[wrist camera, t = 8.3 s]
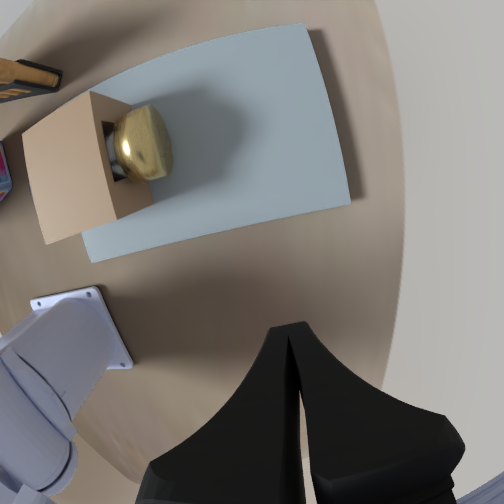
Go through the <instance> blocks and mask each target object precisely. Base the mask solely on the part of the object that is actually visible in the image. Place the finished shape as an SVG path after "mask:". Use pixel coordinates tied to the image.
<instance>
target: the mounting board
mask: <svg viewBox="0 0 504 504" xmlns="http://www.w3.org/2000/svg"><path fill="white" fill-rule="evenodd" d="M146 105H152V106H153V107H155V108H156V110H157V111H158V112H159V114H160V115H161V117H162V119H163V121H164V123H165V125H166V128H167V131H168V134H169V137H170V141H171V146H172V152H173V168H172V172H171V173H170V174H169V175H167V176H164V177H161V178H158V179H155V180H152V181H149V182H146V183H143V184H136V183H134V182H133V181H131V180H130V179H129V178H128V177H127V178H125V179H122V180H119V181H117V182H114V180H113V175H112V171H111V167H110V163H109V158H108V154H107V149H106V144H105V139H104V134H107V133H109V132H111V131H113V128H114V124H115V121H116V119H117V118H118V117H119V116H121V115H124V114H126V113H128V112H131V111H133V110H136V109H138V108H140V107H143V106H146ZM22 139H23V147H24V154H25V160H26V166H27V172H28V177H29V182H30V187H31V191H32V196H33V200H34V204H35V208H36V212H37V216H38V220H39V223H40V227H41V230H42V233H43V237H44V240H45V243H46V245H48V244H50V243H53V242H56V241H58V240H61V239H64V238H66V237H69V236H72V235H75V234H78V233H80V232H81V233H82V237H83V240H84V243H85V246H86V249H87V252H88V255H89V258H90V260H91V263H95V262H99V261H102V260H106V259H110V258H114V257H118V256H122V255H126V254H129V253H133V252H137V251H141V250H145V249H149V248H153V247H157V246H162V245H166V244H170V243H174V242H178V241H182V240H186V239H191V238H195V237H199V236H203V235H208V234H212V233H216V232H221V231H225V230H230V229H234V228H238V227H243V226H247V225H252V224H256V223H261V222H266V221H270V220H275V219H280V218H284V217H289V216H294V215H299V214H303V213H308V212H313V211H318V210H323V209H328V208H333V207H338V206H343V205H348V204H351V200H350V194H349V188H348V183H347V177H346V172H345V167H344V162H343V157H342V152H341V148H340V143H339V138H338V134H337V130H336V126H335V122H334V117H333V114H332V110H331V106H330V102H329V98H328V95H327V91H326V88H325V84H324V81H323V77H322V74H321V71H320V67H319V64H318V61H317V58H316V55H315V52H314V49H313V46H312V43H311V40H310V37H309V34H308V32H307V29H306V26H305V23H300V24H291V25H283V26H276V27H269V28H263V29H257V30H252V31H247V32H242V33H237V34H233V35H229V36H225V37H221V38H217V39H213V40H209V41H206V42H202V43H199V44H195V45H192V46H189V47H186V48H183V49H180V50H177V51H174V52H171V53H168V54H165V55H163V56H160V57H157V58H155V59H152V60H150V61H147V62H145V63H142V64H140V65H138V66H135V67H133V68H131V69H128V70H126V71H124V72H122V73H120V74H118V75H116V76H113V77H111V78H109V79H107V80H105V81H103V82H101V83H100V84H98V85H96V86H94V87H92V88H90V89H88V90H86V91H85V92H83V93H81V94H79V95H78V96H76V97H74V98H73V99H71V100H69V101H68V102H66V103H64V104H63V105H61V106H60V107H58V108H56V109H55V111H54V112H52V113H51V114H49V115H48V116H46V117H45V118H43V119H42V120H41V121H39V122H38V123H36V124H35V125H33V126H32V127H31V128H29V129H28V130H27V131H25V132H24V133H23V134H22Z"/></svg>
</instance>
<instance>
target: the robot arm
mask: <svg viewBox="0 0 504 504" xmlns="http://www.w3.org/2000/svg"><path fill="white" fill-rule="evenodd" d="M89 292H90V293H91V295H90V294H89ZM31 306H32V308H33V310H34V311H33V312H31V313H30V314H29V315H28V316H26V317H25V318H24V319H23V320H21V321H20V322H19V323H18V324H17V325H15V326H14V327H13V328H12V329H11V330H9V331H8V332H7V333H6V334H5V335H4V336H2V337H1V338H0V504H56V503H55V502H54V501H52V500H51V499H50V498H48V497H50V496H53V495H56V494H58V493H59V492H61V491H62V490H63V489H65V488H66V486H68V484H69V483H70V482H71V480H72V478H73V477H74V474H75V471H76V469H77V462H78V451H77V447H76V445H75V443H74V442H73V441H72V439H73V437H74V435H75V433H76V432H77V429H76V428H75V427H74V426H73V425H72V423H71V422H72V421H73V419H74V418H75V416H76V414H77V413H78V411H79V410H80V408H81V407H82V405H83V403H84V402H85V400H86V399H87V397H88V396H89V394H90V393H91V391H92V390H93V388H94V387H95V385H96V384H97V382H98V381H99V379H100V378H101V376H102V375H103V373H104V372H105V370H106V369H131V368H132V367H133V365H134V363H133V361H132V359H131V357H130V355H129V353H128V351H127V349H126V347H125V346H124V344H123V342H122V339H121V337H120V335H119V333H118V331H117V329H116V327H115V325H114V323H113V321H112V318H111V316H110V314H109V312H108V309H107V307H106V305H105V302H104V300H103V298H102V295H101V293H100V291H99V289H98V288H97V287H95V286H92V287H87V288H83V289H78V290H73V291H68V292H63V293H59V294H54V295H49V296H44V297H39V298H35V299H32V300H31ZM123 363H124V364H123ZM299 390H300V394H301V398H302V402H303V406H304V410H305V416H306V425H307V435H308V446H309V459H310V472H311V477H312V482H313V486H314V491H315V496H316V501H317V504H504V472H502V473H501V474H499V475H498V476H496V477H495V478H493V479H492V480H490V481H488V482H487V483H485V484H484V485H482V486H481V487H479V488H477V489H476V490H474V491H472V492H470V493H469V494H467V495H465V496H463V497H461V498H460V499H458V500H455V497H454V494H453V492H452V488H453V487H454V482H453V480H452V477H451V473H452V472H453V470H454V469H455V467H456V466H457V465H458V463H459V462H460V460H461V458H462V456H463V454H464V452H465V444H464V442H463V440H462V438H461V437H460V435H459V433H458V432H457V430H456V429H455V428H454V426H453V425H452V424H451V422H450V421H449V420H448V419H447V418H446V416H445V415H441V414H437V413H434V412H431V411H427V410H424V409H421V408H417V407H415V406H412V405H409V404H407V403H405V402H402V401H400V400H398V399H396V398H394V397H392V396H390V395H388V394H386V393H384V392H382V391H380V390H379V389H377V388H375V387H373V386H372V385H370V384H369V383H367V382H366V381H364V380H363V379H361V378H360V377H358V376H357V375H356V374H354V373H353V372H352V371H351V370H349V369H348V368H347V367H346V366H344V365H343V364H342V363H341V362H340V361H339V360H338V359H337V358H336V357H335V356H334V355H333V354H332V353H331V352H330V351H329V350H328V349H327V348H326V347H325V346H324V345H323V344H322V343H321V342H320V340H319V339H318V338H317V337H316V335H315V334H314V333H313V331H312V330H311V328H310V327H309V325H308V323H307V322H305V321H302V322H297V323H293V324H288V325H282V326H277V327H272V328H270V329H269V330H268V333H267V335H266V338H265V341H264V343H263V345H262V347H261V350H260V352H259V354H258V356H257V358H256V360H255V361H254V363H253V365H252V367H251V369H250V370H249V372H248V373H247V375H246V377H245V378H244V380H243V381H242V383H241V384H240V386H239V387H238V388H237V390H236V391H235V392H234V394H233V395H232V396H231V397H230V399H229V400H228V401H227V402H226V404H225V405H224V406H223V407H222V408H221V409H220V410H219V411H218V412H217V413H216V414H215V415H214V416H213V417H212V418H211V419H210V420H209V421H208V422H207V423H206V424H205V425H204V426H203V427H201V428H200V429H199V430H198V431H196V432H195V433H194V434H193V435H191V436H190V437H189V438H187V439H186V440H185V441H183V442H182V443H181V444H179V445H178V446H176V447H174V448H173V449H171V450H170V451H168V452H166V453H165V454H163V455H161V456H160V457H158V458H156V459H154V460H152V461H151V462H150V463H149V465H148V467H147V470H146V472H145V474H144V477H143V480H142V483H141V486H140V489H139V492H138V495H137V498H136V502H135V504H306V497H305V487H304V477H303V469H302V459H301V449H300V395H299Z"/></svg>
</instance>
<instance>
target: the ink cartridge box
mask: <svg viewBox="0 0 504 504" xmlns="http://www.w3.org/2000/svg"><path fill="white" fill-rule="evenodd" d="M11 188H12V181H11V177H10V174H9V170H8V166H7V162H6V158H5V154H4V149H3V145H2V142H1V141H0V201H1V200H2V199H3V198H4V197H5V195H6V194H7V193H8V192H9V191H10V190H11Z"/></svg>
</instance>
